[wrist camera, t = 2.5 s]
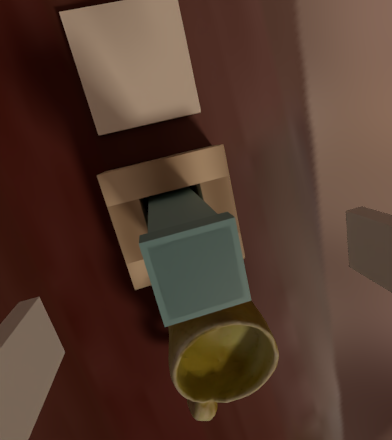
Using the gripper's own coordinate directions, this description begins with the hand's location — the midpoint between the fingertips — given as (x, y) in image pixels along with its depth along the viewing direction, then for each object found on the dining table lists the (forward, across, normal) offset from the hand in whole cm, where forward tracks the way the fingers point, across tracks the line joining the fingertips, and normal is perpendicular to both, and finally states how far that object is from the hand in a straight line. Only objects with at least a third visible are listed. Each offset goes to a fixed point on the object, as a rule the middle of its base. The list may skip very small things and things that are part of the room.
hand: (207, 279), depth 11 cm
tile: (+15, 0, -12) cm, 19 cm away
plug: (+15, 0, 0) cm, 15 cm away
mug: (+15, 0, +13) cm, 20 cm away
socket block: (+15, 0, 0) cm, 15 cm away
